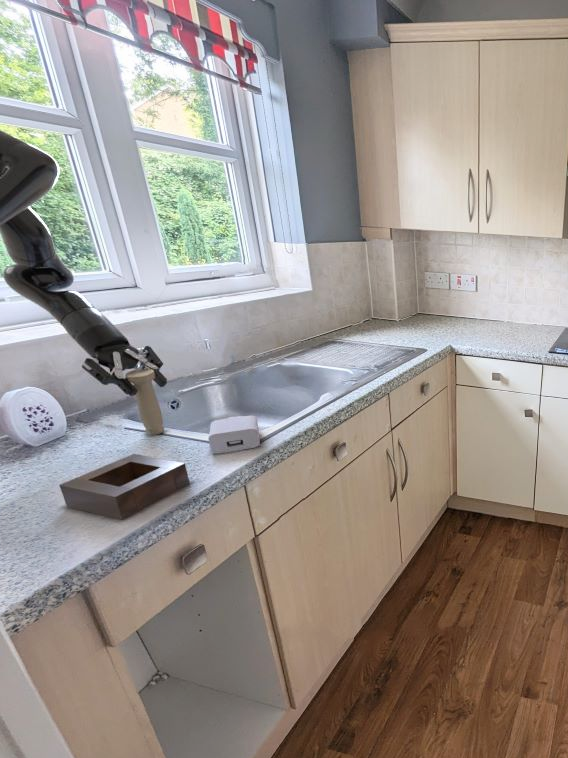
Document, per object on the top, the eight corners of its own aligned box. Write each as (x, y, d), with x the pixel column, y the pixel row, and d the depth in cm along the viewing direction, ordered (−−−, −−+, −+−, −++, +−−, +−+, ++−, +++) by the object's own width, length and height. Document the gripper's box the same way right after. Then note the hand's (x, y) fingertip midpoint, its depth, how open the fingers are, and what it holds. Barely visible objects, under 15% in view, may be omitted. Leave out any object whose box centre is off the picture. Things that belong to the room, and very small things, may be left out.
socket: (122, 519, 77) (115, 496, 75) (66, 507, 79) (58, 484, 78) (190, 483, 88) (185, 463, 86) (139, 473, 90) (133, 453, 89)
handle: (140, 439, 104) (122, 378, 99) (145, 429, 109) (129, 370, 104) (166, 436, 106) (150, 375, 101) (170, 426, 112) (155, 368, 106)
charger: (258, 423, 116) (260, 446, 104) (215, 429, 111) (211, 454, 99) (255, 406, 114) (256, 427, 102) (211, 411, 109) (207, 435, 97)
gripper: (62, 328, 94) (122, 389, 96) (134, 317, 107) (186, 371, 109) (51, 350, 97) (110, 409, 99) (123, 337, 110) (173, 389, 112)
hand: (149, 388), depth 104 cm, fingers closed on handle, 6 cm apart
